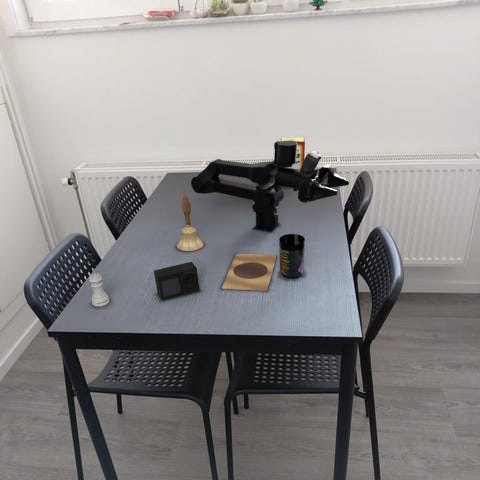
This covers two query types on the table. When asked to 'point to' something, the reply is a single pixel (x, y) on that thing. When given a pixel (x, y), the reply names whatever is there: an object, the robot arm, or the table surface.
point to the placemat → (250, 272)
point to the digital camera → (176, 280)
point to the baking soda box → (298, 151)
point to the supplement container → (291, 256)
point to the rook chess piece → (98, 291)
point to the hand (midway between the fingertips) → (343, 188)
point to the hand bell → (188, 230)
